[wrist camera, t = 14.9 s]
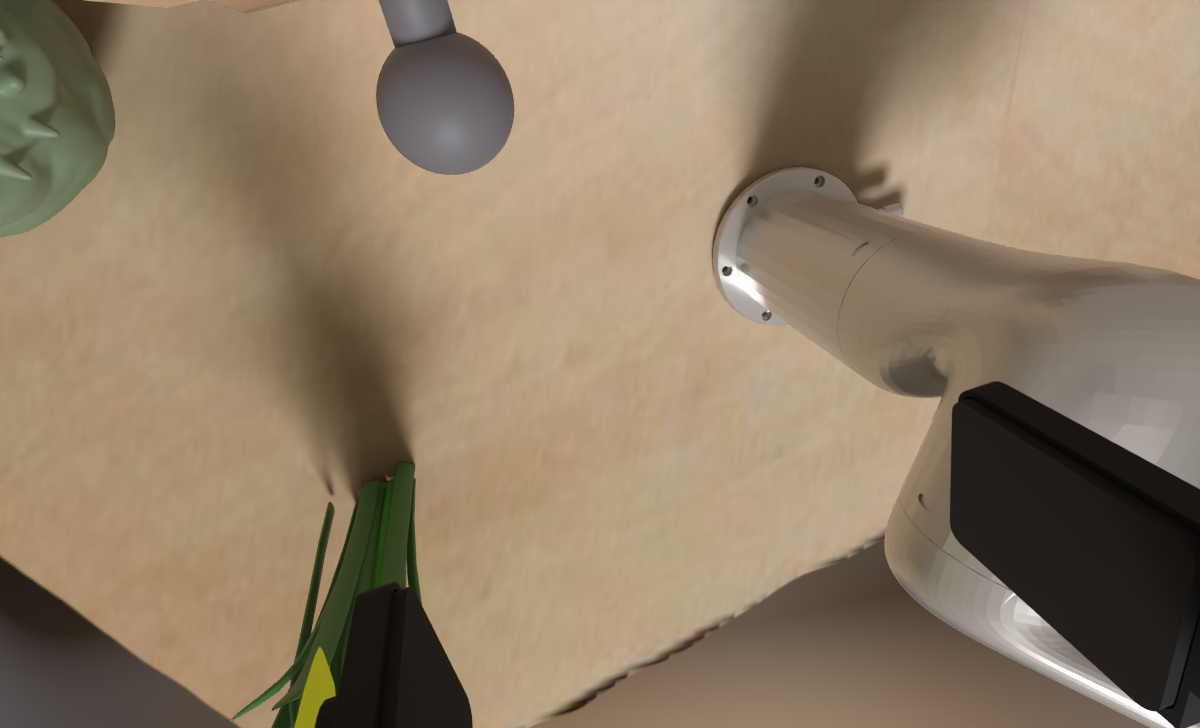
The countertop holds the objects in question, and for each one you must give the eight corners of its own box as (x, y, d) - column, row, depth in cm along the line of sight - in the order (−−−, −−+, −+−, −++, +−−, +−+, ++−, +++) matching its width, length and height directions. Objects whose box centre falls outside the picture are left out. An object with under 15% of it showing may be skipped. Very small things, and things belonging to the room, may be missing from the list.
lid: (788, -254, 15) (805, 95, 19) (618, -117, 29) (648, 68, 33) (-130, -50, 13) (101, 291, 17) (161, -9, 27) (250, 174, 31)
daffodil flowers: (478, 569, 57) (511, 1156, 26) (302, 584, 54) (97, 1276, 23) (478, 402, 51) (524, 918, 19) (279, 407, 47) (-55, 1039, 16)
